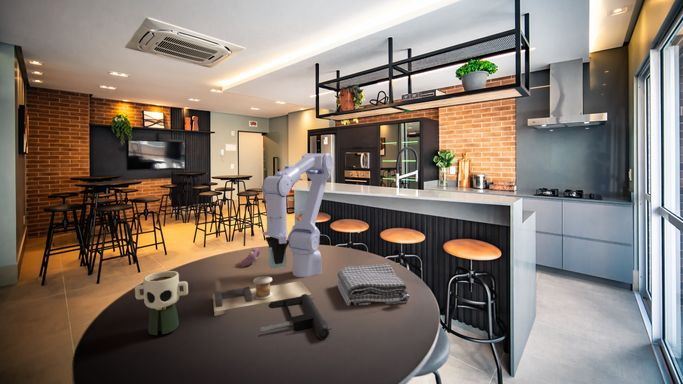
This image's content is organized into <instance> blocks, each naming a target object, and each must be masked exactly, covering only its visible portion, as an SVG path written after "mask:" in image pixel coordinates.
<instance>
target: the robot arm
mask: <svg viewBox="0 0 683 384" xmlns="http://www.w3.org/2000/svg"><path fill="white" fill-rule="evenodd" d="M333 165H334V162H333V157H332V155H331V154H330V153H329V152H325V153H308V152H306V153H305V154H303V155H302V156H301V159H300V160H298V162H296V163H295V164H294V165H291V164H285V166H284V168H283V169H281V170H280V171H277V172H276V174H274V175H273V176H272V175H269V176H267V177H266V178H264V180H263V181H262V185H261V190H262V193H263V196H264V200H265V202H266V203H265V204H266V205H265V206H266V231H262V236H266V237H264V239H265V241H266V243H267V245H268V248H269V247H271V248H272V251H273V257H274V262H275V264H282V263H283V259H284V254H285V250H286V251H287V247H288V248H289V249H290V252H292V275H293V276H294V277H297V278H309V277H312V276H317V275H318V276H319V275H322V255H321V251H320V250H319V249H318V248H319V246H320V235H321V232H320V230H319V228H318V227H317V225H316V222H317V218H318V214H319V211H320V208H321V204H322V200H323V196H324V194H325V188H326V185H327V181H328V180H329V179H330V177H331V174H332V171H333ZM304 173H305V174H306V177H307V179H310V181H311V184H310V186H309V190H308V194H307V197H306V200H305V204H304V207H303V211H302V213H301V214H302V215H301V217H300V220H299V221H298V222H297V223H296V224H294V225H292V228H291V230H290V232H289V233H288V230H287V227H288V226H287V196H289V194H290V193H291V192H290V191H291V189H292V187H293V186H294V185H295V184H297V182H299V181H300V180H301V177H302V176H301V175H302V174H304ZM287 235H288V236H287Z"/></svg>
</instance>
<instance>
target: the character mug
mask: <svg viewBox="0 0 683 384" xmlns="http://www.w3.org/2000/svg"><path fill="white" fill-rule="evenodd" d="M181 286H182V288H183V291H182V290H181V291H180V287H181ZM141 290H143V294H141ZM134 294H135V298H136V300H144V305H145V306H146V307H147V308H150V309H149V317H148V325H147V326H148V327H147V328H148V329H147V333H148V334H149V335H151V336H158V334H159V333H158V331H159V332H161V335H166V334H169V333H172V332H173V331H175V330H177V328H178V327H179V326H180V324H179V322H180V321H179V315H178V311H177V306H176V305H177V304H176V303H177V302H178V301H179V299H180V296H187V295H188V294H189V283H188V281H180V274H179V272H178V271H173V270H163V271H158V272H153V273H150V274H148V275H146V276H144V277H143V281H142V284H137V285H135V287H134Z"/></svg>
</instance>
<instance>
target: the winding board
mask: <svg viewBox="0 0 683 384" xmlns="http://www.w3.org/2000/svg"><path fill="white" fill-rule="evenodd" d="M252 282H253V284H255V288H254V287H253V288H250V286H246V287H240V288H239V287H238V288H234V289H233V288H232V289H228V290H221V291H220V290H219V291H214V294H212V305H213V312H214V313H213V314H214V317H217V316H222V315H226V314H227V313H226V311H227V310H232V309H236V308H237V309H238V308H243V307H248V306H254V305H255V306H256V305H260V304H265V303H271V302H275V301H280V300H285V299H290V298H295V297H300V296H301V295H303V294H307V295H309V296H311V295H313V294H312V292H310V290H309V289H308V287H306V286H305V285H304V283H303V282H302V281H300V280H299V281H293V282H286V283H280V284H274V285H271V283H272V282H273V277H271V276H268V275H263V276H258V277H255V278H254V279H253V281H252Z"/></svg>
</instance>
